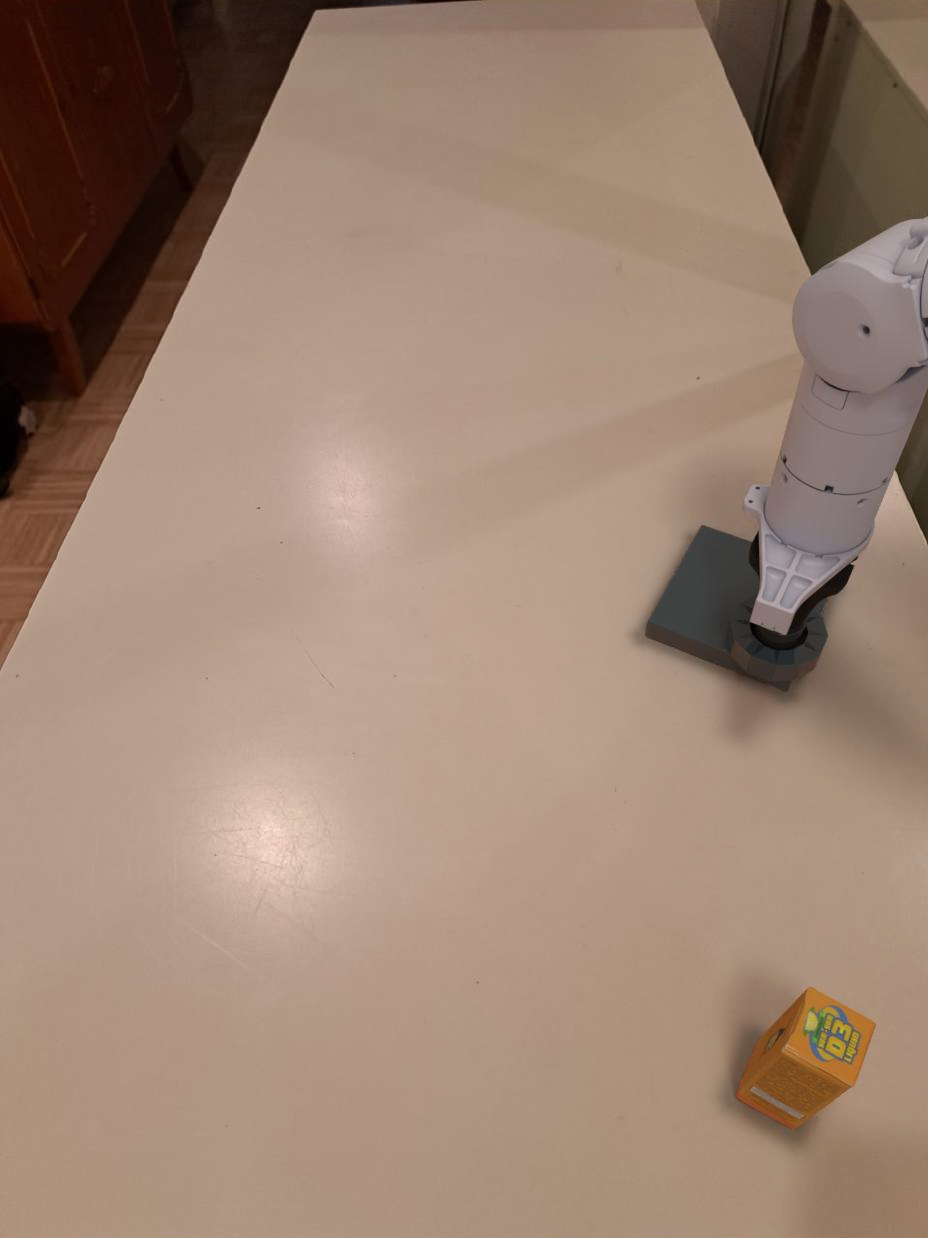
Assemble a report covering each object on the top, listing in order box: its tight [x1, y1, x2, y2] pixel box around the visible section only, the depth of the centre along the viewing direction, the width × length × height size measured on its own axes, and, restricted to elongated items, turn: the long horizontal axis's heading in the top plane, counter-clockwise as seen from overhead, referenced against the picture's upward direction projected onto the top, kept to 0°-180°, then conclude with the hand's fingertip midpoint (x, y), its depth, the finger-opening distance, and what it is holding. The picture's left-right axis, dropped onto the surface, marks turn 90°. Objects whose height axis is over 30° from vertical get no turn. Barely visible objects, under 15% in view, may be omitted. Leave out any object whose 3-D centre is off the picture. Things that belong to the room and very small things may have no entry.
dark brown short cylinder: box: [754, 618, 807, 651], centre depth 61 cm, size 3×3×2 cm
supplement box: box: [735, 986, 877, 1131], centre depth 44 cm, size 3×3×10 cm
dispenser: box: [645, 524, 830, 693], centre depth 65 cm, size 11×11×4 cm
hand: (782, 616), depth 60 cm, fingers closed, pressing on dark brown short cylinder
